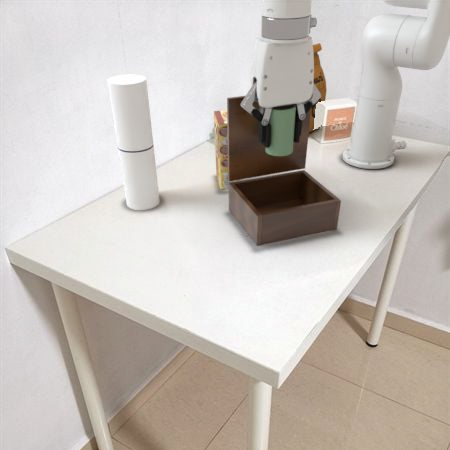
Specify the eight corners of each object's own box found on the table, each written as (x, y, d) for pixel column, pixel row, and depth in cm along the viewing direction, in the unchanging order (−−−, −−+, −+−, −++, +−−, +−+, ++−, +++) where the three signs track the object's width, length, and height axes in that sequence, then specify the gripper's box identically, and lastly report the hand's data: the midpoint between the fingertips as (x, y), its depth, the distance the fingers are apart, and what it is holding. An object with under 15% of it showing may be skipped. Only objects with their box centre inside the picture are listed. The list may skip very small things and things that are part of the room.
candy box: (238, 191, 106) (238, 122, 96) (219, 193, 106) (217, 123, 96) (232, 175, 113) (232, 109, 103) (214, 176, 112) (212, 110, 103)
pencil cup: (285, 144, 89) (288, 99, 84) (297, 153, 85) (301, 107, 80) (261, 148, 88) (262, 103, 82) (272, 158, 84) (274, 111, 79)
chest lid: (313, 88, 88) (300, 81, 91) (228, 98, 83) (218, 91, 87) (305, 168, 97) (294, 159, 101) (229, 181, 93) (220, 171, 97)
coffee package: (327, 129, 136) (338, 44, 122) (299, 140, 130) (307, 52, 116) (301, 121, 142) (308, 39, 128) (273, 131, 135) (277, 46, 122)
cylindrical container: (126, 211, 99) (106, 85, 84) (126, 196, 105) (107, 75, 89) (160, 208, 100) (146, 83, 84) (158, 193, 106) (145, 73, 90)
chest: (336, 232, 91) (341, 200, 87) (256, 249, 87) (257, 216, 83) (301, 200, 102) (304, 169, 98) (228, 213, 98) (228, 182, 94)
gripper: (321, 20, 79) (311, 129, 90) (226, 29, 74) (228, 142, 86) (345, 27, 73) (331, 142, 85) (243, 38, 69) (243, 157, 81)
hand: (279, 141), depth 85 cm, fingers closed on pencil cup, 5 cm apart
